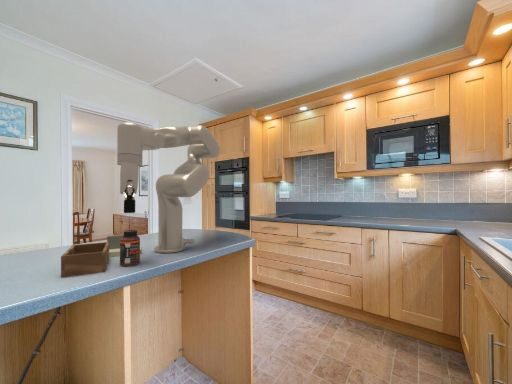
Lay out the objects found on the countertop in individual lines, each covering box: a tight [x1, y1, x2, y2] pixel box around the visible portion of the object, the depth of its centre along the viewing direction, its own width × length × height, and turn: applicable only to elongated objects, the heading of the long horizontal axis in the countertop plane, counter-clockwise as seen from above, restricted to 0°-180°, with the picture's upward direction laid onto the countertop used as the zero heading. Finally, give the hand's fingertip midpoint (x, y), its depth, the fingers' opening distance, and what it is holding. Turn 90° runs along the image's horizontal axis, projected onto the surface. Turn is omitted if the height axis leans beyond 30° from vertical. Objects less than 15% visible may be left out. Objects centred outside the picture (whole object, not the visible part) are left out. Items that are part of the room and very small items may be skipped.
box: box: [60, 241, 110, 278], centre depth 76 cm, size 16×11×6 cm
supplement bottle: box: [119, 229, 141, 267], centre depth 79 cm, size 6×6×11 cm
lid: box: [106, 234, 143, 258], centre depth 93 cm, size 18×13×7 cm
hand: (129, 211), depth 78 cm, fingers open, 9 cm apart
